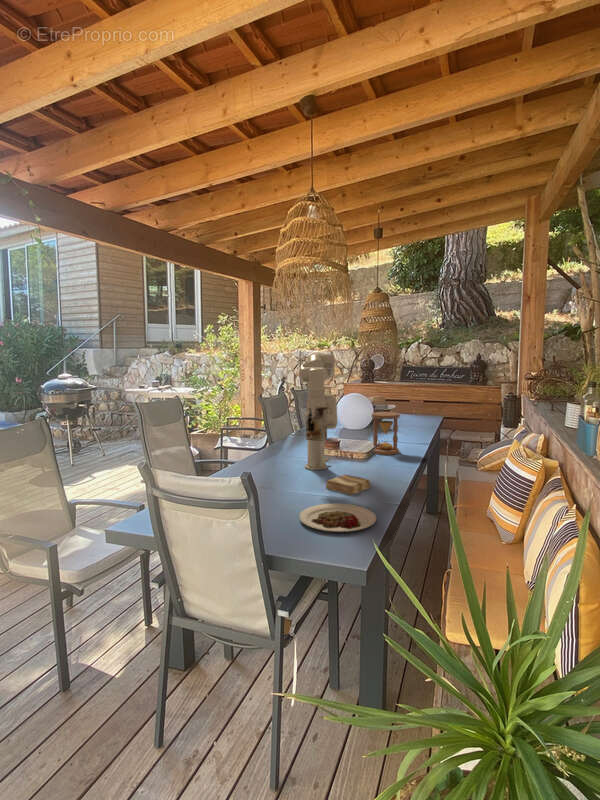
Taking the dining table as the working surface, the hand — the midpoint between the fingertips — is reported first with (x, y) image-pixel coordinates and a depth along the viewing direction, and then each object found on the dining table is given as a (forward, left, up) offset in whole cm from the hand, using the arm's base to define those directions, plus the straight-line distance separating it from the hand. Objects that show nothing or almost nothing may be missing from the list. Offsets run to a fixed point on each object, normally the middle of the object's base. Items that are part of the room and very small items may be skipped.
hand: (316, 429), depth 233 cm
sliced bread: (-4, +16, -27) cm, 32 cm away
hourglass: (-83, -13, -28) cm, 88 cm away
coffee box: (0, 0, -5) cm, 5 cm away
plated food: (+32, +38, -28) cm, 57 cm away
